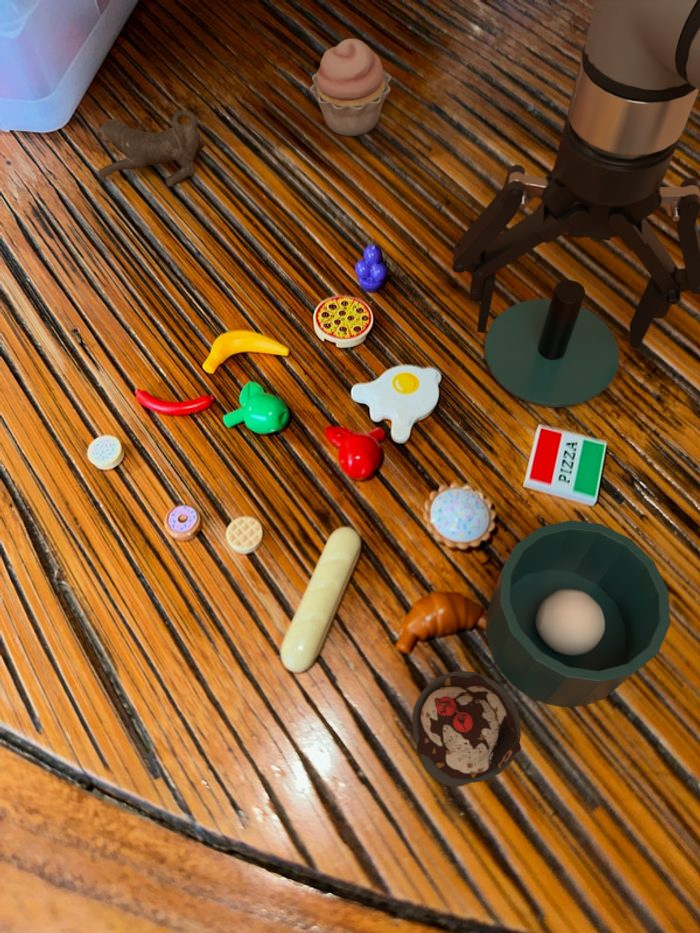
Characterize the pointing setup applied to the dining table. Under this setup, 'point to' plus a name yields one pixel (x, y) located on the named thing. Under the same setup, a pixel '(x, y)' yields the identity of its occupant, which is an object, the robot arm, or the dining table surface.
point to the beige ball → (570, 622)
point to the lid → (552, 349)
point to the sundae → (465, 728)
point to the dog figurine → (154, 146)
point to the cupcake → (350, 88)
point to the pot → (606, 581)
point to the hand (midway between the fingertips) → (557, 328)
